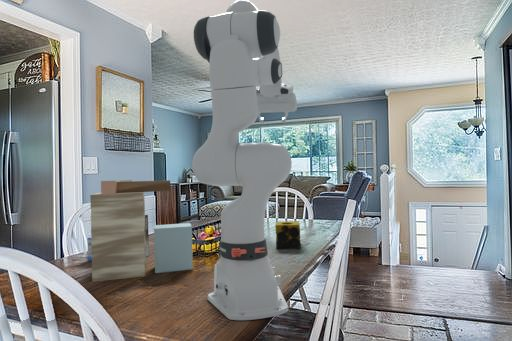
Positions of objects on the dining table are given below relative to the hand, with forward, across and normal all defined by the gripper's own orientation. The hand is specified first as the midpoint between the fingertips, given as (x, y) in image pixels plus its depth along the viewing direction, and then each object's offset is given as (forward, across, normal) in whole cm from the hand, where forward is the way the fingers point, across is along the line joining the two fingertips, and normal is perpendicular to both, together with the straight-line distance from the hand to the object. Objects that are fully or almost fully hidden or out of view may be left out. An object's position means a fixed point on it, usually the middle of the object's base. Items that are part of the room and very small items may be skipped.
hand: (273, 122), depth 143 cm
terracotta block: (+5, -42, -55) cm, 69 cm away
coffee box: (+39, -48, -44) cm, 76 cm away
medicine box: (+38, -60, -48) cm, 86 cm away
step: (+34, -27, -53) cm, 69 cm away
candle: (+49, +7, -18) cm, 53 cm away
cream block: (+9, -43, -46) cm, 64 cm away
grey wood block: (+31, -41, -61) cm, 80 cm away
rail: (+9, -37, -47) cm, 60 cm away
